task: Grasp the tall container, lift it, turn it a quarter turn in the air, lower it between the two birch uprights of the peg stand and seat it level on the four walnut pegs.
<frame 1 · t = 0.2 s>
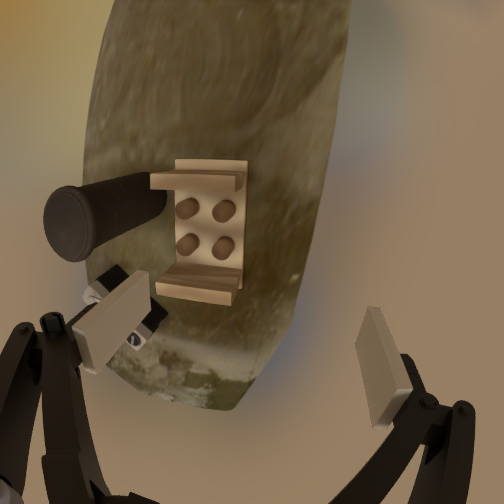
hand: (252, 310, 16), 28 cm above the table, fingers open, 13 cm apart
container: (145, 195, 44), on the table
camera: (133, 297, 52), on the table
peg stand: (210, 224, 44), on the table
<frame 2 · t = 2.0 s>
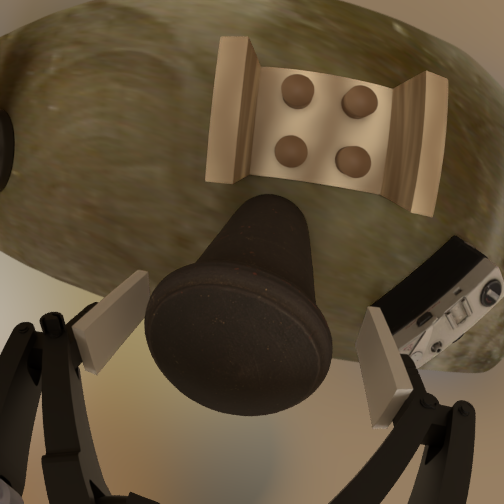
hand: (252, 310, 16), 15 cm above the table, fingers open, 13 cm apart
container: (269, 233, 30), on the table
camera: (424, 291, 30), on the table
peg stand: (322, 128, 25), on the table
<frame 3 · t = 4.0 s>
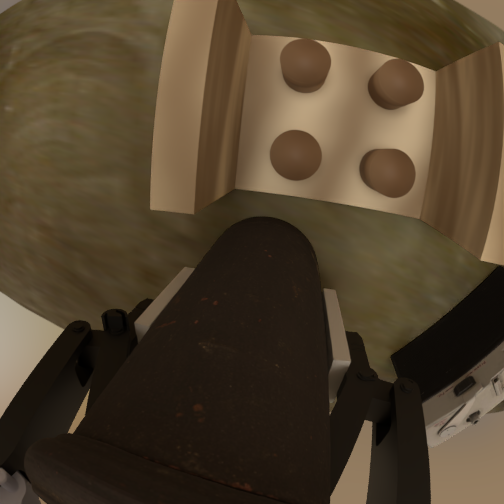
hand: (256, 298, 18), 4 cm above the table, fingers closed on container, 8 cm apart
container: (264, 269, 22), on the table, touching gripper
camera: (457, 334, 21), on the table
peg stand: (341, 121, 17), on the table
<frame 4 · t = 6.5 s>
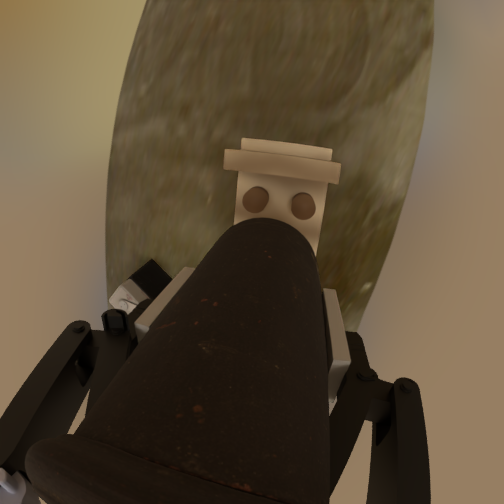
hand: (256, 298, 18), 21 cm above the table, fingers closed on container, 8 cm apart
container: (263, 270, 22), point 16 cm above the table, touching gripper
camera: (169, 300, 44), on the table
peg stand: (278, 220, 37), on the table
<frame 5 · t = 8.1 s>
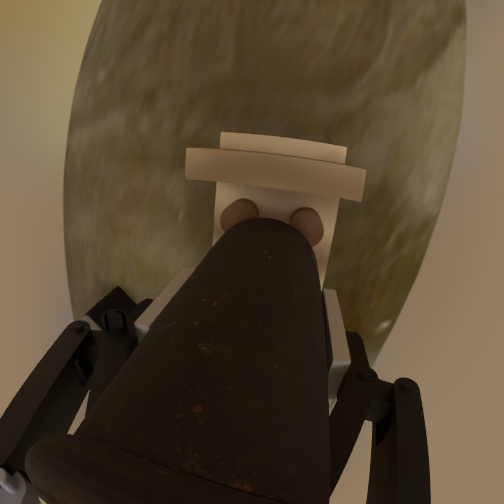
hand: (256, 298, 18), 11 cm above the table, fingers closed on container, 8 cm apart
container: (263, 270, 22), point 6 cm above the table, touching gripper
camera: (142, 334, 35), on the table
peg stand: (271, 243, 27), on the table
when the fingers open (9 cm above the table, at t = 9.3 s): container drops 1 cm, resting on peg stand.
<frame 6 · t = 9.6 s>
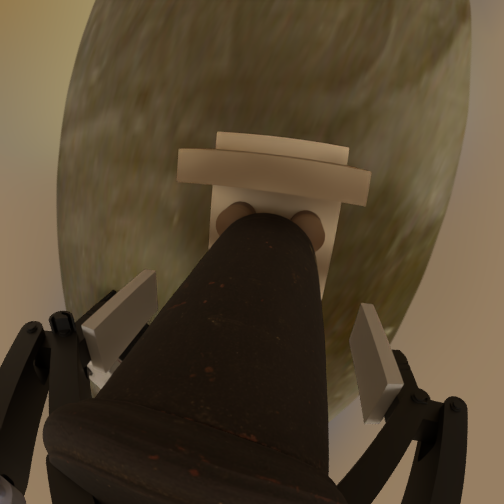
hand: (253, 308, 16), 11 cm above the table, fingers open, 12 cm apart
container: (265, 263, 23), point 4 cm above the table, touching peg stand
camera: (139, 339, 33), on the table
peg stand: (270, 248, 26), on the table
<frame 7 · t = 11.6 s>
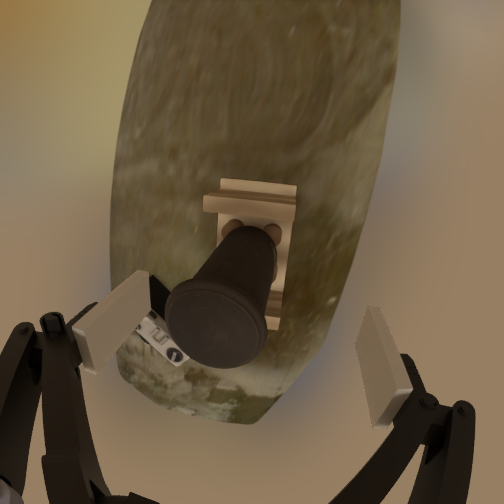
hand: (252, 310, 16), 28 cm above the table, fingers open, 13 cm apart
container: (248, 253, 41), point 4 cm above the table, touching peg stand
camera: (168, 310, 51), on the table
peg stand: (253, 246, 44), on the table
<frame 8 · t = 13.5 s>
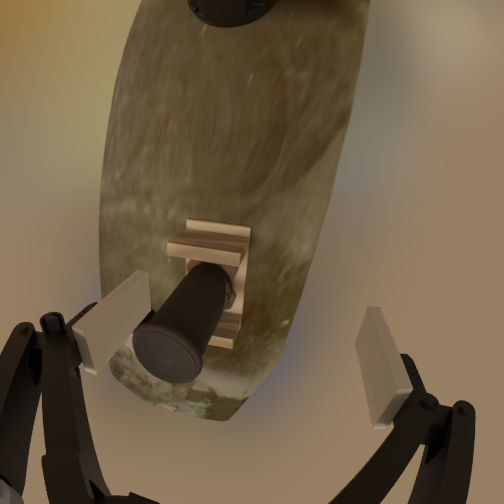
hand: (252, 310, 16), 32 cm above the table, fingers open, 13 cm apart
container: (209, 284, 48), point 4 cm above the table, touching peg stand
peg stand: (215, 275, 52), on the table
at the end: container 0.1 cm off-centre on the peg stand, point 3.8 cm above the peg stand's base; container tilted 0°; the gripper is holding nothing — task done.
